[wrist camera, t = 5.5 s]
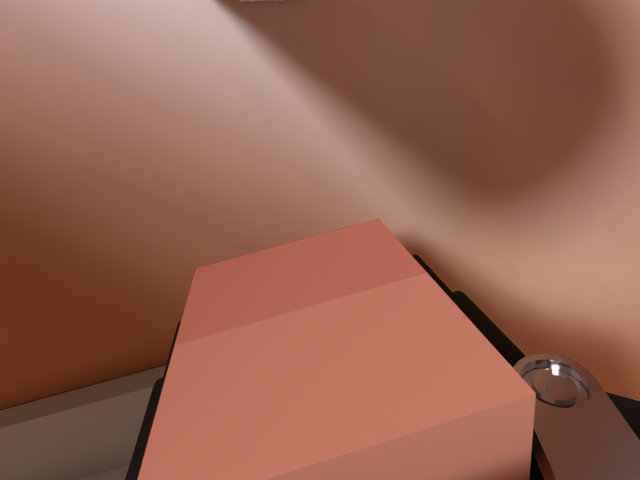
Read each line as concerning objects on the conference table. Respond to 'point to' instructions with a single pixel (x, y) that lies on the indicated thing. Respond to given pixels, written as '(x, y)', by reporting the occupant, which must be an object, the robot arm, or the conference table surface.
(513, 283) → the conference table surface
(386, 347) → the pink knobbed block
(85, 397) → the baseplate
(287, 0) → the white cup
